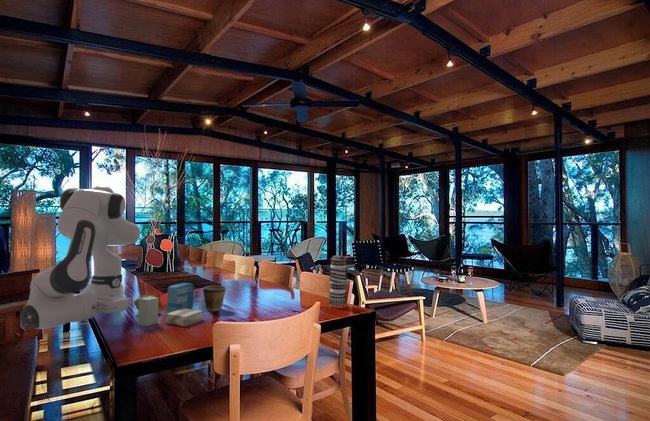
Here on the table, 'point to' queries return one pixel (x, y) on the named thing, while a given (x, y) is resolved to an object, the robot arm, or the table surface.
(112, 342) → the table surface
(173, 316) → the birch block
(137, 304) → the lemon
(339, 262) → the decorative candle
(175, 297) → the blue rounded box
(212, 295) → the ceramic cup
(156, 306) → the sage block
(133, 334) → the table surface
